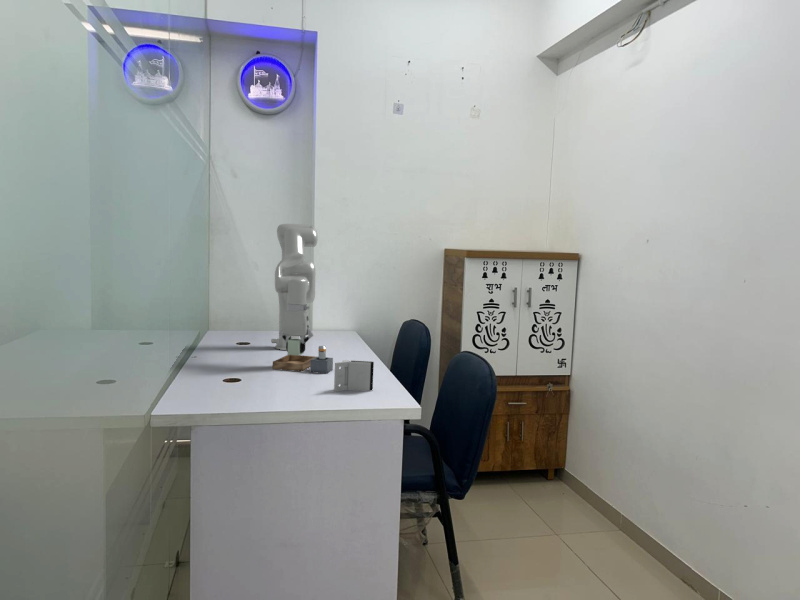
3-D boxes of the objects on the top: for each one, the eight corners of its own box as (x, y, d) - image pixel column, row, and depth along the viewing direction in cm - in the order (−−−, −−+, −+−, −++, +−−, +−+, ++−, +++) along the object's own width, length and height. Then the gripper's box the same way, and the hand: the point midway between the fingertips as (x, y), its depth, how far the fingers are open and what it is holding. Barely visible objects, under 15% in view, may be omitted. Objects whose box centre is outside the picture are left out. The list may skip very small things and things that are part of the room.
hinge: (334, 391, 196) (334, 363, 195) (332, 387, 201) (333, 360, 201) (373, 391, 199) (374, 363, 198) (371, 387, 204) (372, 360, 203)
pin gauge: (316, 371, 226) (317, 346, 225) (319, 370, 228) (320, 345, 227) (323, 372, 225) (324, 347, 224) (326, 370, 228) (326, 346, 227)
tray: (272, 369, 227) (272, 361, 226) (288, 361, 243) (288, 354, 243) (302, 371, 224) (302, 364, 224) (316, 363, 240) (316, 356, 240)
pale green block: (287, 354, 231) (287, 339, 230) (292, 352, 236) (292, 338, 235) (299, 355, 230) (299, 340, 229) (303, 353, 235) (303, 338, 234)
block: (310, 372, 224) (310, 359, 223) (316, 368, 231) (316, 356, 230) (327, 373, 223) (327, 361, 222) (332, 370, 229) (333, 357, 229)
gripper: (319, 308, 233) (318, 352, 235) (280, 306, 237) (279, 349, 238) (313, 310, 226) (312, 355, 228) (273, 307, 229) (272, 352, 231)
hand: (295, 351), depth 233 cm, fingers closed on pale green block, 5 cm apart
